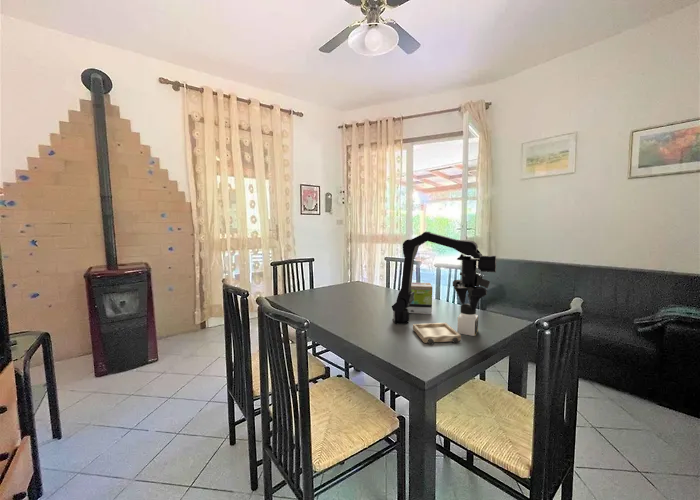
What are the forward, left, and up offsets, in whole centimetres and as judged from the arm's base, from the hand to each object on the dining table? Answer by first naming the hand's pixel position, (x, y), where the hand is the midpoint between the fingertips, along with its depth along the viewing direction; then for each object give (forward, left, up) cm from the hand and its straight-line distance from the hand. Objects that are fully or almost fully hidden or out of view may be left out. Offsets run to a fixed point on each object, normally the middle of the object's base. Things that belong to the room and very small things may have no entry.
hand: (468, 307), depth 129 cm
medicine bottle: (0, 0, -11) cm, 11 cm away
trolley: (-15, -2, -11) cm, 19 cm away
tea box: (-12, +32, -11) cm, 36 cm away
